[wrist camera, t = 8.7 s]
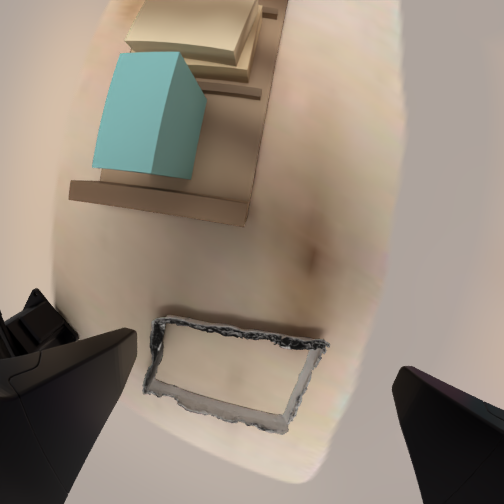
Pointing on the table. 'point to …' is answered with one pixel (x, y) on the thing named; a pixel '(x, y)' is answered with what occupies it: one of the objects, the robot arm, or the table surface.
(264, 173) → the table surface
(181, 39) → the offcut top
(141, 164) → the teal rectangular block
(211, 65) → the offcut low
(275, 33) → the rack
